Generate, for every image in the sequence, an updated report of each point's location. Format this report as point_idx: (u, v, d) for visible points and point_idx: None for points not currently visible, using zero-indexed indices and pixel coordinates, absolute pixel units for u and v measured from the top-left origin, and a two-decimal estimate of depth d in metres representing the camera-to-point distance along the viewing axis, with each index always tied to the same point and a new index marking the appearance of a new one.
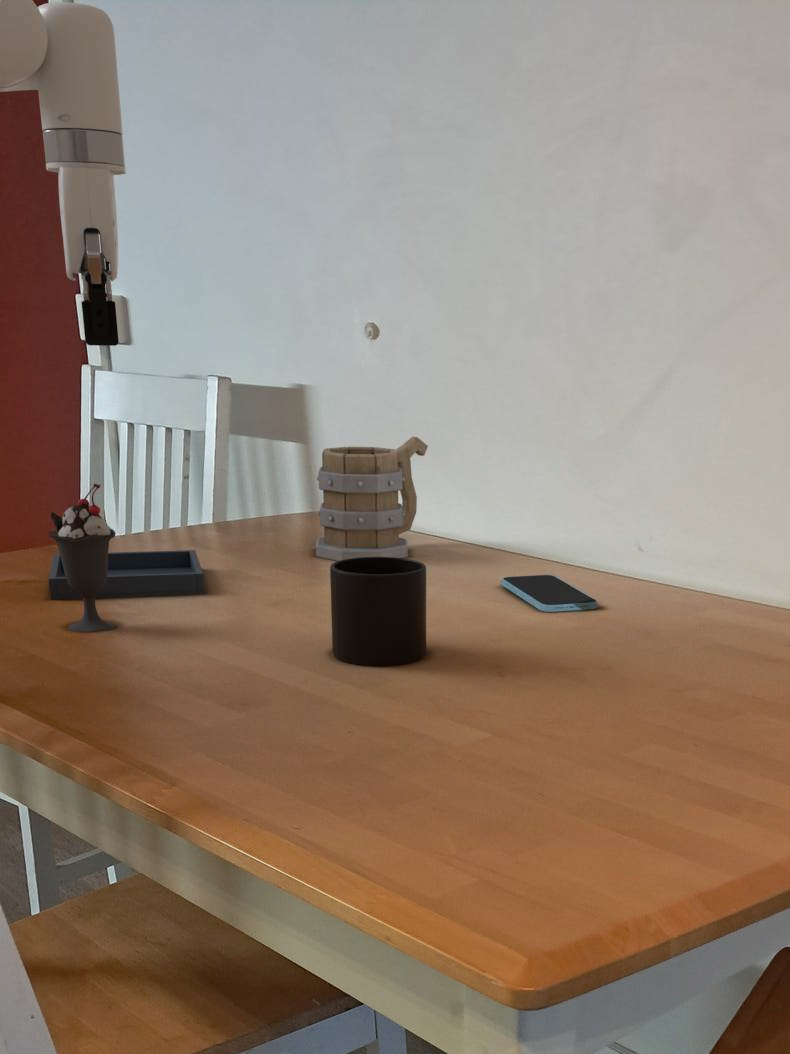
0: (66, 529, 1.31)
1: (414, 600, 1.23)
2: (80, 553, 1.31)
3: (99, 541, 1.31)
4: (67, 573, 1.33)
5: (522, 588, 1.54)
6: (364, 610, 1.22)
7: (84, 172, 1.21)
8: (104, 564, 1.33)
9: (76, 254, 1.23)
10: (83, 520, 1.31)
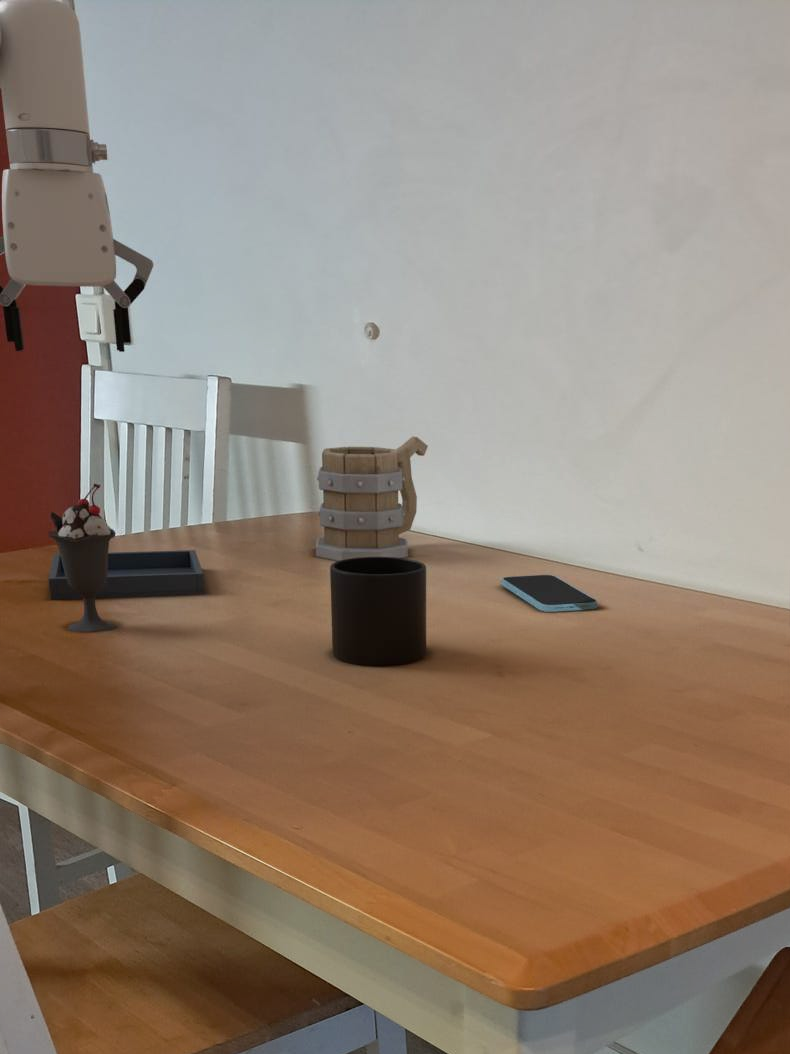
0: (66, 529, 1.31)
1: (414, 600, 1.23)
2: (80, 553, 1.31)
3: (99, 541, 1.31)
4: (67, 573, 1.33)
5: (522, 588, 1.54)
6: (364, 610, 1.22)
7: None
8: (104, 564, 1.33)
9: None
10: (83, 520, 1.31)
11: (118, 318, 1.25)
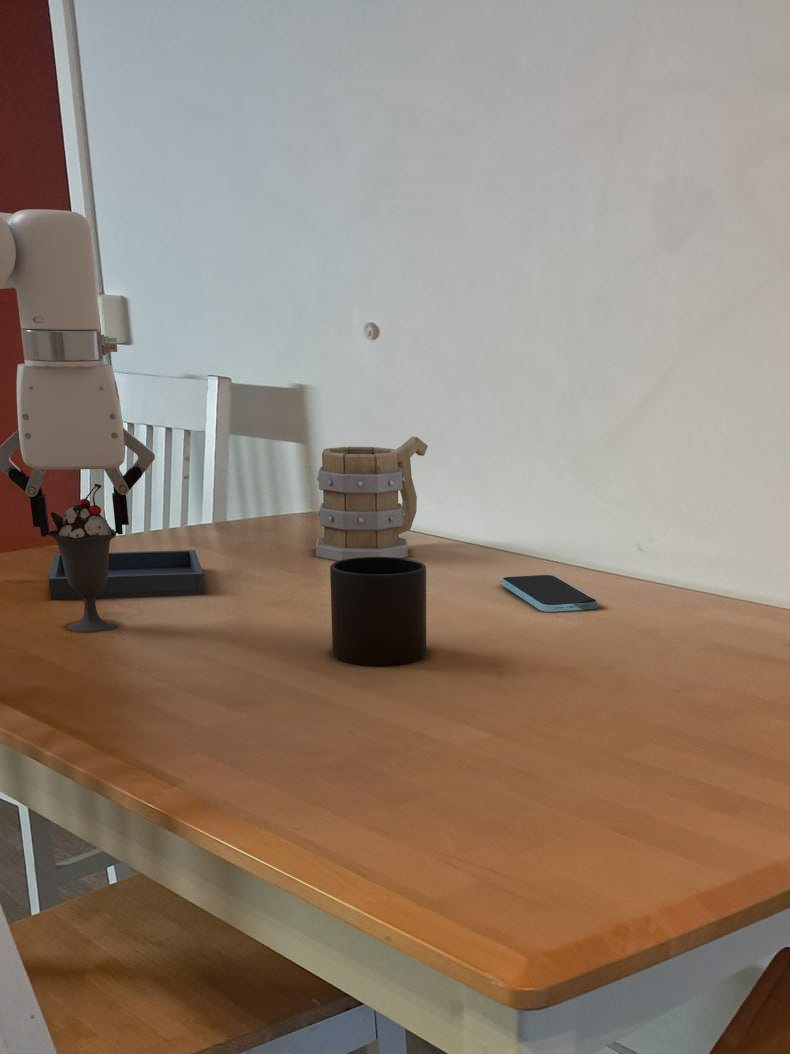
0: (67, 529, 1.31)
1: (414, 600, 1.23)
2: (81, 553, 1.31)
3: (100, 541, 1.32)
4: (67, 573, 1.33)
5: (522, 588, 1.54)
6: (364, 610, 1.22)
7: (17, 369, 1.25)
8: (105, 564, 1.33)
9: None
10: (84, 520, 1.31)
11: (117, 504, 1.31)
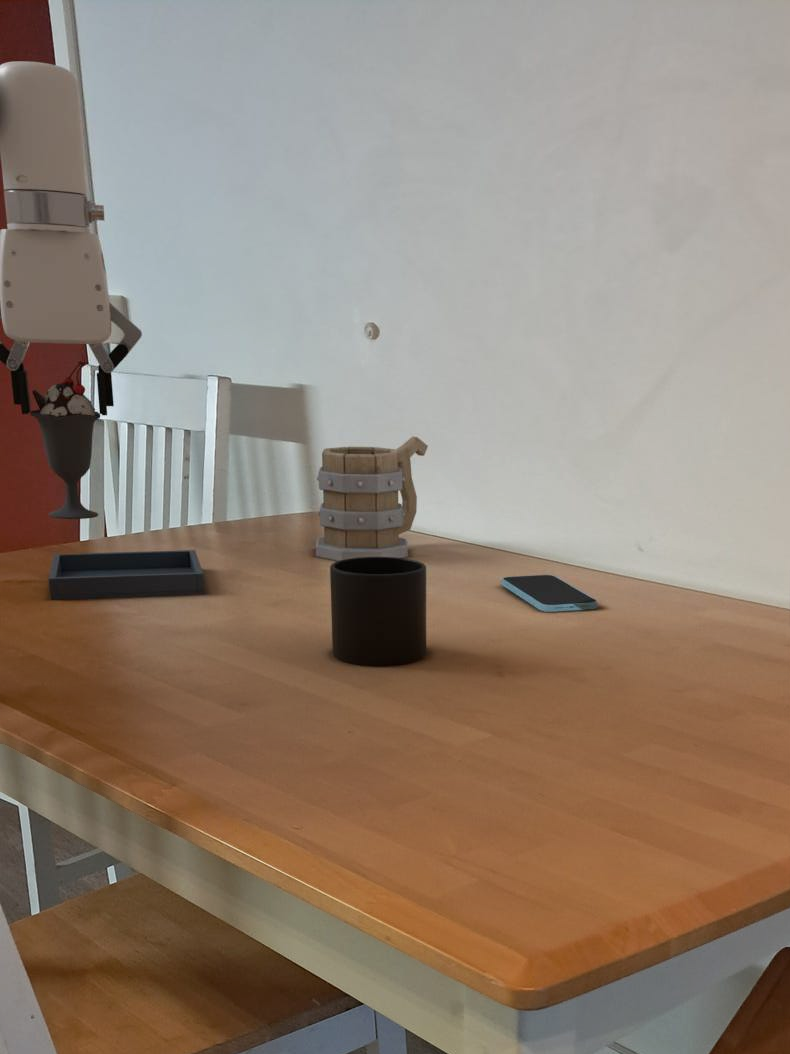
0: (49, 407, 1.26)
1: (414, 600, 1.23)
2: (63, 433, 1.26)
3: (83, 421, 1.27)
4: (49, 454, 1.28)
5: (522, 588, 1.54)
6: (364, 610, 1.22)
7: None
8: (88, 447, 1.29)
9: None
10: (67, 398, 1.26)
11: (101, 383, 1.26)
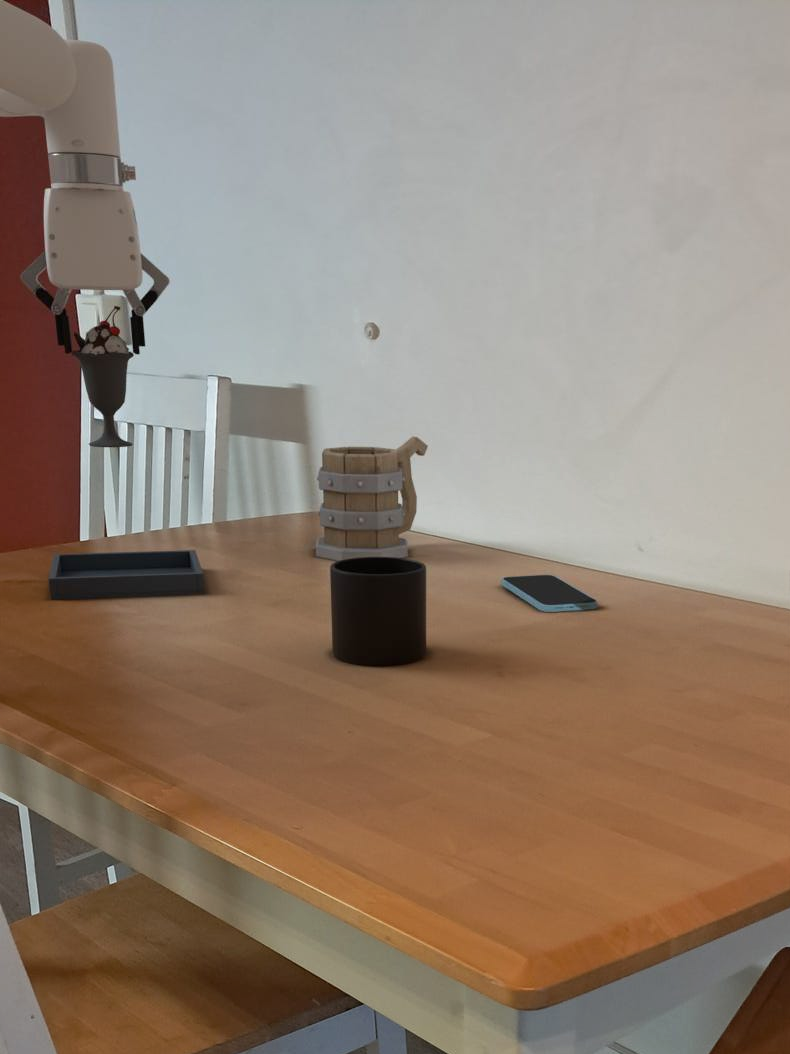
0: (89, 346, 1.42)
1: (414, 600, 1.23)
2: (101, 369, 1.43)
3: (119, 359, 1.43)
4: (89, 390, 1.45)
5: (522, 588, 1.54)
6: (364, 610, 1.22)
7: None
8: (123, 382, 1.45)
9: None
10: (104, 339, 1.43)
11: (134, 325, 1.43)
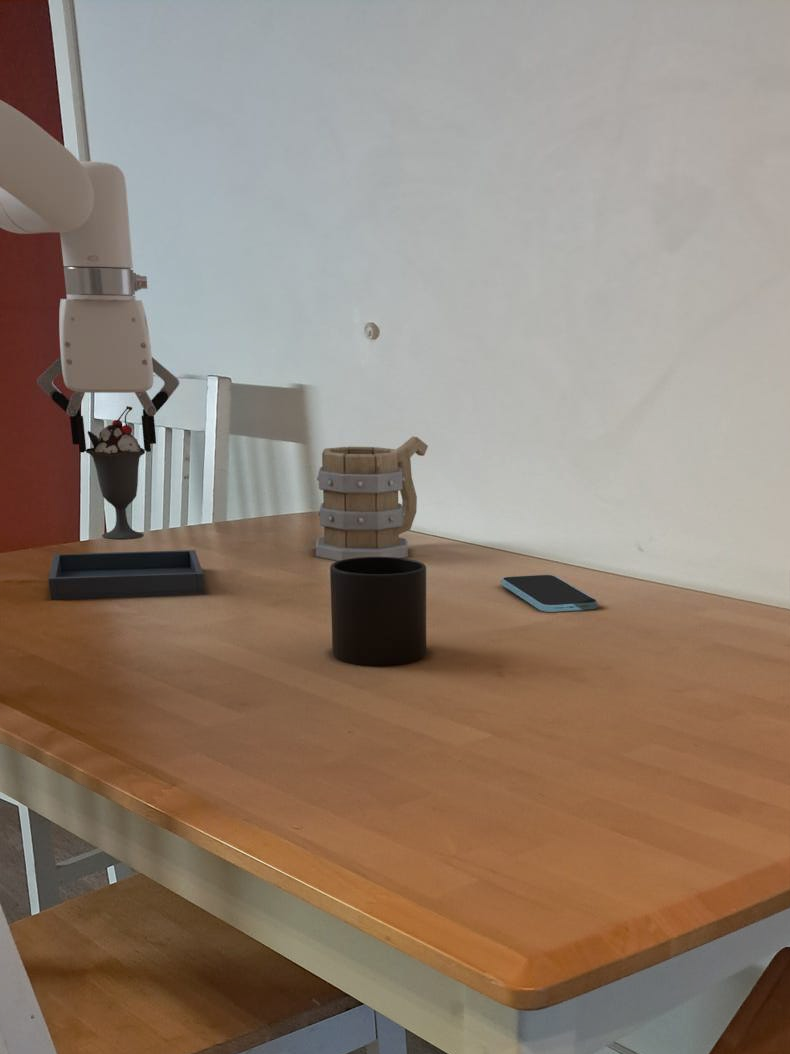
0: (102, 446, 1.49)
1: (414, 600, 1.23)
2: (114, 467, 1.49)
3: (131, 457, 1.50)
4: (102, 485, 1.51)
5: (522, 588, 1.54)
6: (364, 610, 1.22)
7: (60, 303, 1.43)
8: (135, 478, 1.51)
9: None
10: (117, 438, 1.49)
11: (146, 424, 1.49)
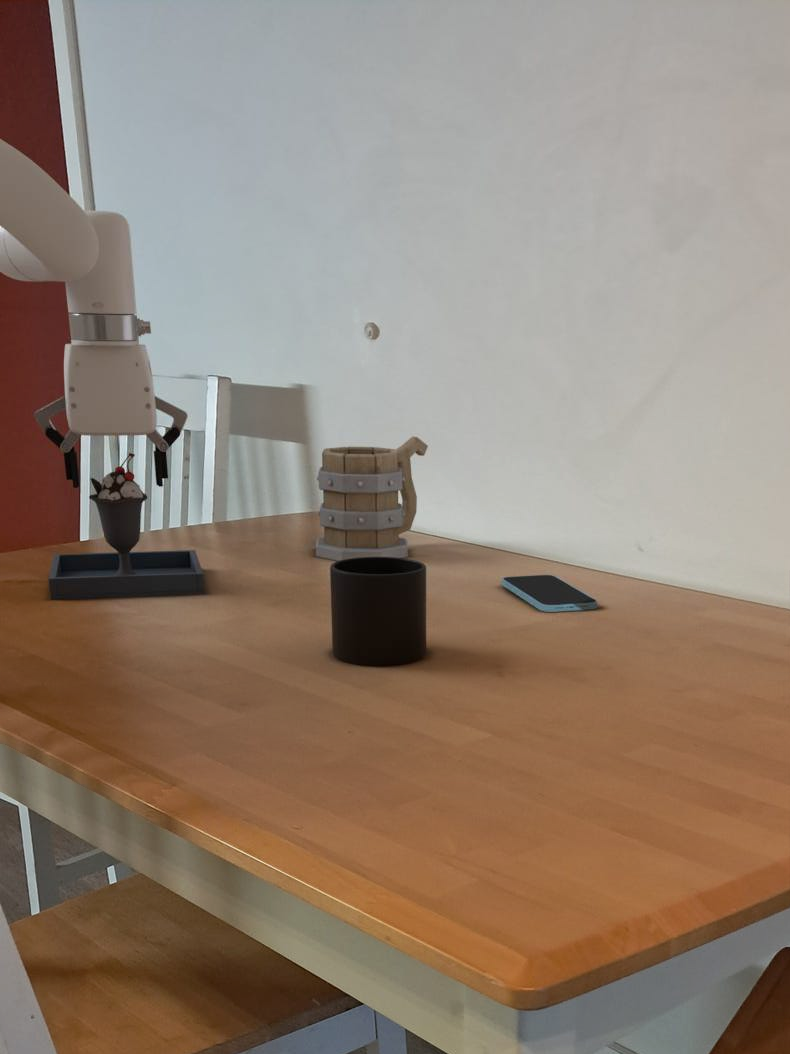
0: (105, 492, 1.51)
1: (414, 600, 1.23)
2: (117, 513, 1.51)
3: (133, 503, 1.52)
4: (105, 531, 1.53)
5: (522, 588, 1.54)
6: (364, 610, 1.22)
7: (65, 348, 1.45)
8: (137, 523, 1.53)
9: None
10: (120, 485, 1.51)
11: (158, 460, 1.51)
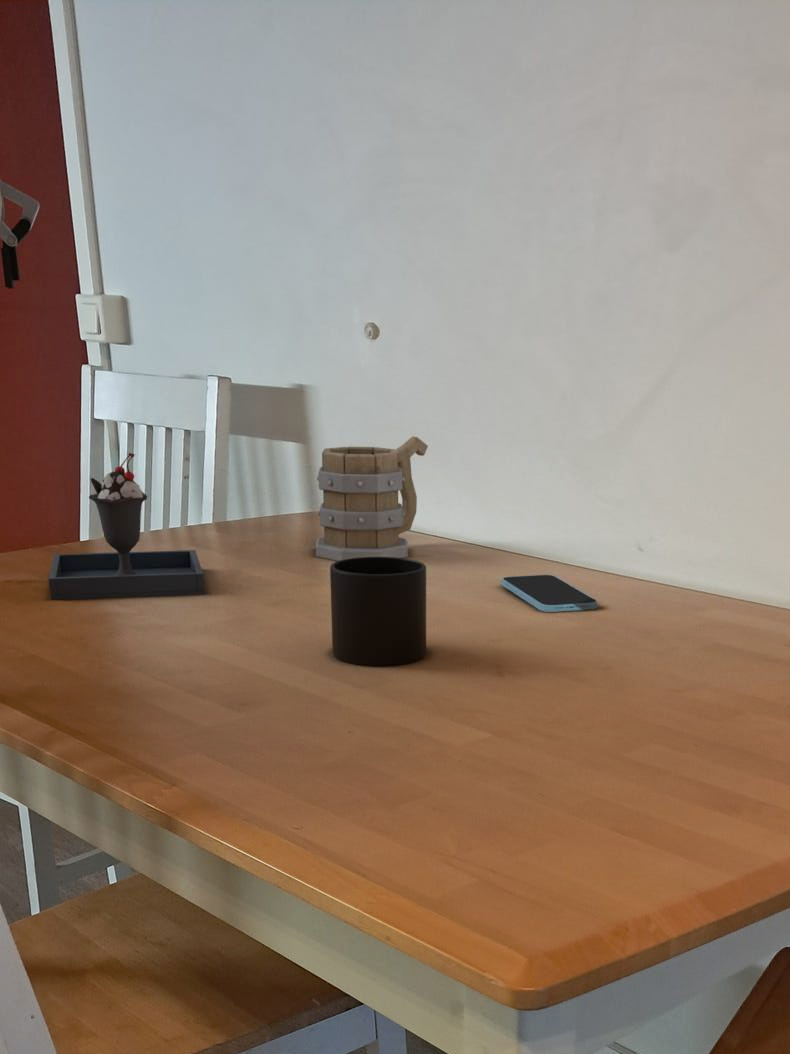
0: (105, 492, 1.51)
1: (414, 600, 1.23)
2: (117, 513, 1.51)
3: (133, 503, 1.52)
4: (105, 531, 1.53)
5: (522, 588, 1.54)
6: (364, 610, 1.22)
7: None
8: (137, 523, 1.53)
9: None
10: (120, 485, 1.51)
11: (5, 256, 1.32)
